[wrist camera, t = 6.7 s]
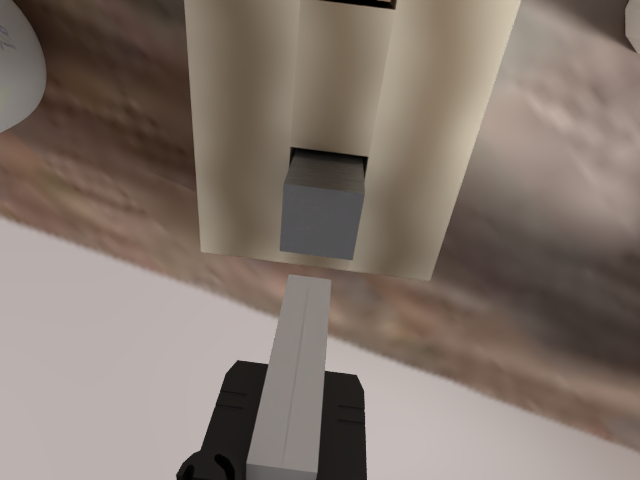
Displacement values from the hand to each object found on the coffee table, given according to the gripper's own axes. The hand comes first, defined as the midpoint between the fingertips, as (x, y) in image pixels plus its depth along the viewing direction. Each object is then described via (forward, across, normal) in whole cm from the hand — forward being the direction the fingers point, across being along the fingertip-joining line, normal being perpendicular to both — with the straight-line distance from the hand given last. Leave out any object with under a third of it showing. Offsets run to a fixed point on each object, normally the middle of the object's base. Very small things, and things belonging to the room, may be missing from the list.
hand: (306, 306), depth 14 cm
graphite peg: (+13, 0, 0) cm, 13 cm away
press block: (+18, 0, -6) cm, 19 cm away
